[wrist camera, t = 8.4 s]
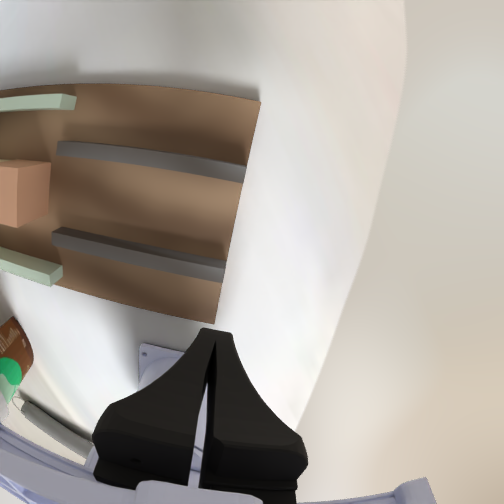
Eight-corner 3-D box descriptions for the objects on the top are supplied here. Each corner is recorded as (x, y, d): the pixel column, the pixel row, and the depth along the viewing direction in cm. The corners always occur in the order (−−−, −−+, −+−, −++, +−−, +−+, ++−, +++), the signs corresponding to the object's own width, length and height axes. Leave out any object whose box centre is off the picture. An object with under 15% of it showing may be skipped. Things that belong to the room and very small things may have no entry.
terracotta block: (48, 213, 19) (17, 227, 15) (15, 207, 18) (-16, 219, 15) (51, 162, 18) (18, 168, 14) (17, 159, 17) (-16, 165, 13)
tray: (62, 276, 21) (50, 286, 19) (-17, 250, 20) (-30, 257, 18) (76, 96, 16) (62, 93, 14) (-12, 102, 15) (-26, 102, 13)
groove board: (215, 317, 23) (212, 335, 21) (-10, 256, 21) (-25, 265, 18) (260, 104, 18) (262, 98, 15) (-3, 92, 16) (-20, 91, 13)
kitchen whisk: (16, 381, 27) (-6, 410, 21) (232, 482, 34) (232, 517, 28) (17, 402, 29) (-1, 429, 23) (214, 493, 35) (212, 524, 29)
